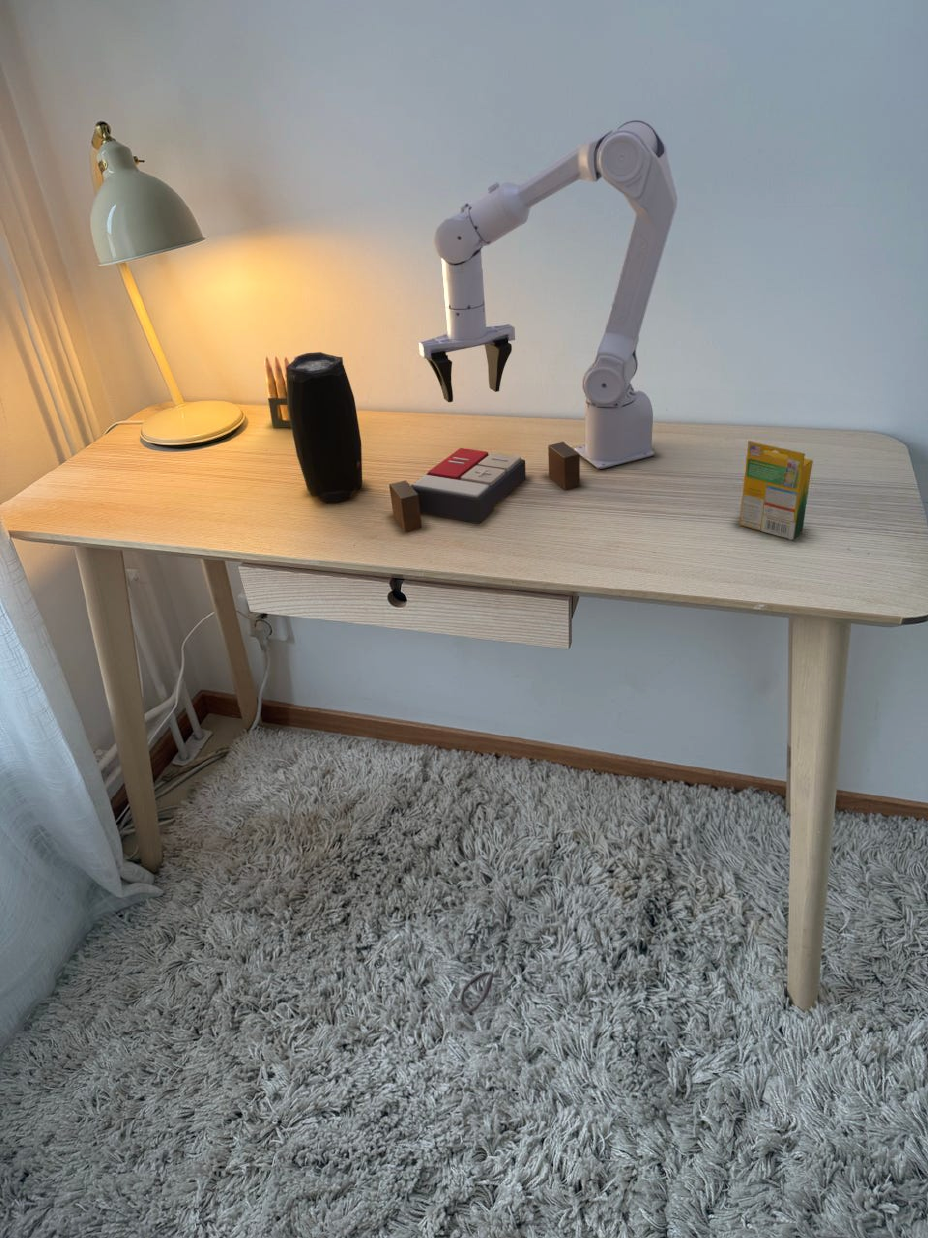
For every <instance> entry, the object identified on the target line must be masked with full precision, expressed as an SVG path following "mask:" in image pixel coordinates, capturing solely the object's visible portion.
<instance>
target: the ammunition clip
mask: <svg viewBox="0 0 928 1238" xmlns="http://www.w3.org/2000/svg"><path fill="white" fill-rule="evenodd" d="M296 357H297V356H294V357H293V360H292V362H293V361H294V359H295V358H296ZM263 362H264V363H263V364H264V372H265V383H266V389H267V395H268V398H267V400H268V407H269V413H270V420H271V421H270V422H271V426H272V427H273V428H291V423H290V418H289V413H288V407H287V381H286V367H287V366H288V365H289V364H290V361H289V358H288V357H287V356H284V357H283V370H282V366H281V363H280V360H279V359H278V356H274V357H273V368H272V364H271V362H270V360H269V358H268V356H266V355H265V356H264V361H263ZM273 369H274V371H273ZM283 372H284V374H283Z"/></svg>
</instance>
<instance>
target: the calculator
mask: <svg viewBox="0 0 928 1238" xmlns="http://www.w3.org/2000/svg"><path fill="white" fill-rule="evenodd" d="M525 480H526V459H524V458H522V457H521V456H520V455H511V454H506V453H498V452H491V453H489V452H488V451H484V450H478V449H471V448H464V447H460V448H458V449H457V450H456V451H454V452H453V453H451V454H450V455H448V456H447V457H446V458H445V459H443V460H442V461H441V462H439V463H438V464H436V465H435V466H434V467H432V468H431V469H430V470H428V471H427V473H426V474H424V475H422V477H420V478H419V479H417V480H416V481H414V483H413V484H411V485H410V486H411V487H412V488H413V489H414V490H415V492H416V493H417V494H418V498H419V507H420V514H426V515H431V516H432V515H433V516H438V517H443V518H448V519H453V520H459V521H463V522H470V523H475V524H480V523H482V522H483V521H484V520H486V519H487V518H488V517H489V516H490V515H491V514H492V513H493V511H494V509H495V507H496V505H498V503H500V502H501V501H502V500H504V499H505V498H506V497H507V496H508V495H509V494H510V493H511V492H512V491H514V489H516V488H517V487H518V486H519V485H520V484H521V483H522V482H524V481H525Z"/></svg>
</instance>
